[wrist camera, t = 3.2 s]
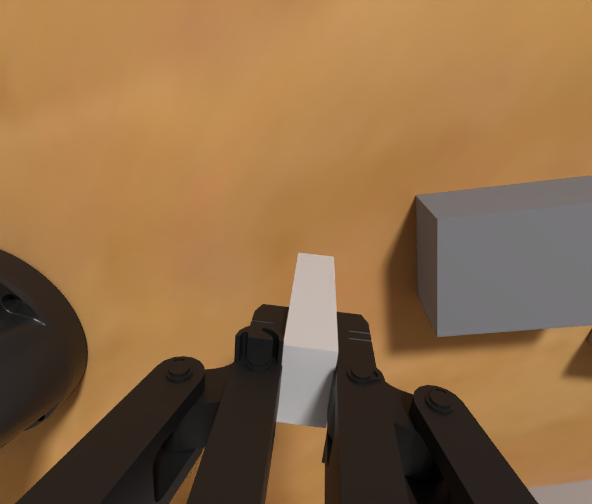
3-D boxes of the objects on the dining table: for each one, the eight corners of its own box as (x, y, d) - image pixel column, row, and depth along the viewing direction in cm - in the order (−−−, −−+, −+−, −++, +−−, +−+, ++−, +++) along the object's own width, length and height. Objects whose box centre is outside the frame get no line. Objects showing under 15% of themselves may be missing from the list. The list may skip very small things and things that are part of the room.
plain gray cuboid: (417, 294, 27) (437, 337, 22) (414, 194, 24) (437, 219, 20) (572, 280, 26) (627, 322, 21) (587, 174, 23) (654, 196, 19)
